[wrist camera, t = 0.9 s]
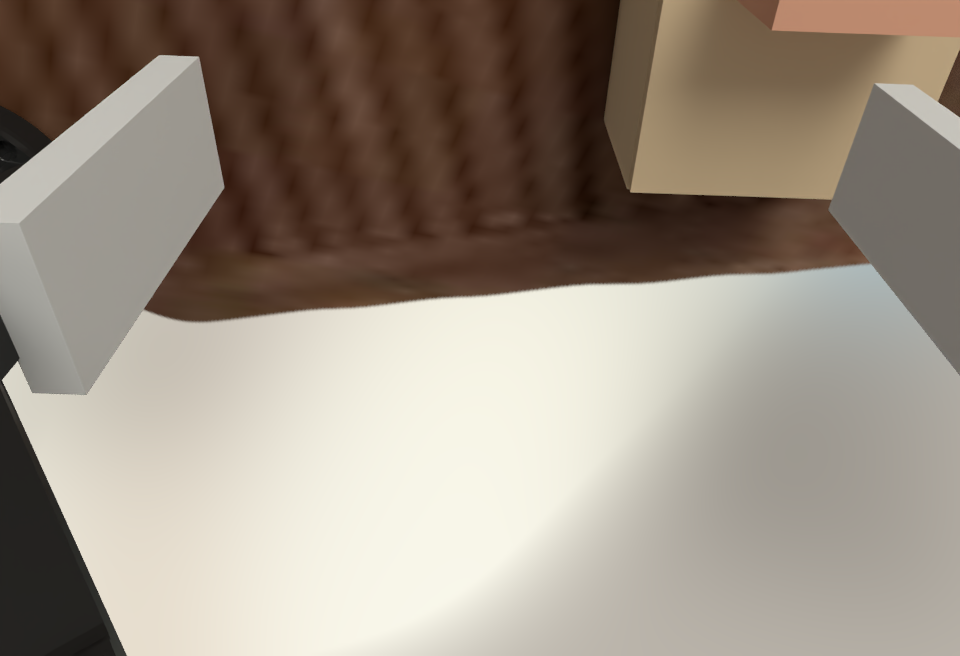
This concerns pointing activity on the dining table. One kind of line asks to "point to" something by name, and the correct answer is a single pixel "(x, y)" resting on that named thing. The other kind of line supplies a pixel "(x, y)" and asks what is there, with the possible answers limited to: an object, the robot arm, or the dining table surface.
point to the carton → (747, 98)
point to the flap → (860, 16)
